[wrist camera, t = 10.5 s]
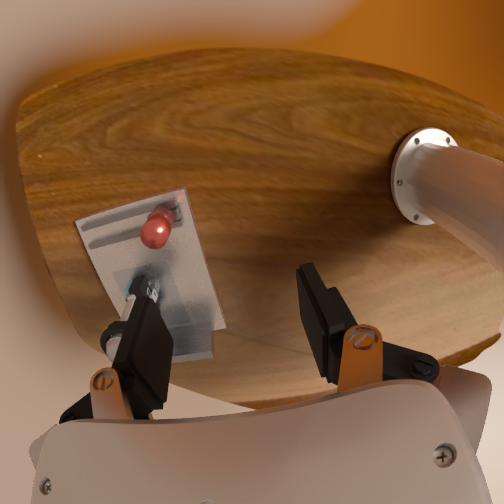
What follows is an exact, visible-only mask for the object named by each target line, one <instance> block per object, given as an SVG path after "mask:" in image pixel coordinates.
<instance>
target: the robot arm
mask: <svg viewBox="0 0 504 504" xmlns="http://www.w3.org/2000/svg"><path fill="white" fill-rule="evenodd" d="M391 191H392V196H393V199H394V202H395V204H396V206H397V208H398V210H399V211H400V212H401V214H402V215H403V216H405V217H406V218H407V219H408V220H410V221H411V222H413V223H415V224H419V225H430V224H434V223H436V224H438V225H439V226H441V227H442V228H444V229H445V230H447V231H448V232H449V233H451V234H452V235H454V236H455V237H456V238H458V239H459V240H460V241H462V242H463V243H464V244H466V245H467V246H468V247H470V248H471V249H472V250H474V251H475V252H476V253H478V254H479V255H480V256H481V257H483V258H484V259H485V260H486V261H487V262H489V263H490V264H491V265H492V266H494V267H495V268H496V269H497V270H499V271H500V272H501V273H502V274H503V275H504V162H502V161H499V160H496V159H494V158H491V157H488V156H485V155H483V154H480V153H477V152H474V151H470V150H467V149H464V148H461V147H458V146H457V144H456V142H455V141H454V140H453V138H452V137H451V136H450V135H449V134H447V133H446V132H445V131H442V130H440V129H437V128H432V127H424V128H420V129H417V130H415V131H414V132H412V133H411V134H409V135H408V136H407V137H406V138H405V139H404V141H403V142H402V143H401V145H400V146H399V148H398V150H397V152H396V154H395V157H394V161H393V164H392V170H391ZM296 278H297V287H298V296H299V306H300V315H301V320H302V323H303V326H304V329H305V332H306V335H307V337H308V340H309V343H310V346H311V349H312V352H313V355H314V358H315V361H316V364H317V366H318V369H319V372H320V375H321V377H326V379H327V382H328V383H331V382H332V383H333V384H335V385H338V387H337V393H334V394H330V395H326V396H322V397H318V398H314V399H310V400H305V401H301V402H297V403H292V404H288V405H283V406H278V407H272V408H267V409H261V410H255V411H249V412H242V413H235V414H227V415H219V416H209V417H198V418H185V419H184V418H183V419H159V420H154V419H153V417H152V414H151V412H152V411H153V410H154V409H155V410H158V409H163V403H165V402H166V401H167V392H168V385H169V377H170V370H171V362H172V355H173V348H174V341H173V338H172V336H171V334H170V332H169V330H168V328H167V326H166V324H165V322H164V320H163V318H162V316H161V314H160V312H159V310H158V308H157V306H156V304H155V302H154V300H153V298H149V297H148V296H143V297H138V298H136V299H135V301H134V304H133V307H132V309H131V312H130V315H129V317H128V320H127V323H126V325H125V328H124V331H123V334H122V337H121V340H120V343H119V346H118V349H117V352H116V355H115V358H114V361H113V364H112V367H111V368H103V369H101V370H99V371H97V372H96V373H95V374H94V375H93V377H92V378H91V381H90V392H89V393H88V394H87V395H86V396H84V397H83V398H82V399H80V400H79V401H78V402H76V403H75V404H74V405H72V406H71V407H70V408H69V409H67V410H66V411H65V412H64V413H63V414H62V416H61V417H60V420H59V425H57V424H55V425H54V426H53V427H52V428H50V429H49V430H48V431H47V432H45V433H44V434H43V435H41V436H40V437H39V438H38V439H36V440H35V441H34V442H33V443H32V444H31V446H30V450H29V453H30V457H31V460H32V462H33V465H34V467H35V469H36V473H35V478H34V484H33V490H32V498H31V504H492V500H491V497H490V493H489V490H488V487H487V484H486V480H485V477H484V474H483V472H482V469H481V466H480V464H479V461H478V459H477V456H476V452H477V449H478V446H479V442H480V439H481V435H482V432H483V428H484V424H485V420H486V416H487V411H488V406H489V401H490V396H491V391H492V385H491V382H490V380H489V378H487V376H485V375H483V374H480V373H476V372H473V371H469V370H465V369H462V368H458V367H454V366H451V365H447V364H445V366H440V365H439V363H438V362H437V360H436V359H435V358H434V357H432V356H431V355H428V354H425V353H422V352H418V351H415V350H411V349H408V348H404V347H401V346H397V345H394V344H391V343H387V342H384V341H382V335H381V333H380V331H379V330H378V329H377V328H375V327H373V326H371V325H366V324H360V325H358V324H357V322H356V321H355V319H354V317H353V315H352V313H351V312H350V310H349V308H348V306H347V305H346V303H345V301H344V300H343V298H342V296H341V294H340V293H339V291H338V289H337V288H336V287H332V288H328V289H327V288H326V287H325V285H324V283H323V281H322V279H321V277H320V276H319V274H318V272H317V270H316V268H315V267H314V265H313V263H312V262H311V263H307V264H302V265H300V268H299V269H296Z"/></svg>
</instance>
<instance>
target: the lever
mask: <svg viewBox="0 0 504 504" xmlns="http://www.w3.org/2000/svg"><path fill="white" fill-rule="evenodd" d="M179 219H180V212H179V209H178V207H174V208H170V209H169V208H167V207H158V208H156V209H155V210H154V211H153V212H152V213H151V214H149V215H148V217H147V221H146V222H145V224H144V225H143V227H142V229H141V231H140V239H141V241H142V243H143V244H144V245H145V246H146V247H148V248H150V249H160V248H162V247H163V246H165V244H166V243H167V240H168V238H169V235H170V233H171V230H172V228H173V226H174V223H175V221H176V220H179Z"/></svg>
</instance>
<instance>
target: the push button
mask: <svg viewBox="0 0 504 504" xmlns="http://www.w3.org/2000/svg"><path fill="white" fill-rule="evenodd" d="M148 283H149V281H148V279H147V277H146V275H144V276H141V277H138V278H134V279H131V280H129V282H128V285H127V287H126V289H125V295H126V297H127V298H126V300H125V301H126V302H127V303H126V305H125V308H124V310H123V313H122V315H121V318H120V320H119V321H114V322H113V323H111V324H110V325H109V326H108V328H107V329H106V330H105V331H104V332H103V334H102V336H101V339H100V344H101V347H102V349H103V351H104V352H105V353H106V355H107V356H108V358H109V360H110V361H111V362H113V361H114V358H115V355H116V352H117V349H118V346H119V343H120V340H121V337H122V334H123V331H124V328H125V325H126V323H127V320H128V317H129V315H130V312H131V309H132V307H133V304H134V301H135V299H136V298H138V297H143V296H148V297H149V298H153V300H154V302H155V304H156V306H157V308H158V310H159V312H160V314H161V310H160V307H159V304H158V302H157V297H158V294H157V292H156V290H155V288H153V290H152V292H151V290H150V288H149V286H148ZM154 292H155V294H156V296H155V294H154ZM111 335H112V337H111Z"/></svg>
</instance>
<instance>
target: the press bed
mask: <svg viewBox="0 0 504 504" xmlns="http://www.w3.org/2000/svg"><path fill="white" fill-rule="evenodd" d="M158 207H167V208H169V209H170V208H174V207H178V209H179V212H180V219H179V220H176V221H175V223H174V226H173V228H172V230H171V233H170V235H169V238H168V240H167V243H166V244H165V246H163V247H162V248H160V249H150V248H148V247H146V246H145V245H144V244H143V243H142V241H141V239H140V231H141V229H142V227H143V225H144V224H145V222H146V221H147V217H148V215H149V214H151V213H152V212H153V211H154V210H155V209H156V208H158ZM75 223H76V225H77V228H78V230H79V233H80V235H81V238H82V240H83V242H84V245H85V247H86V249H87V252H88V254H89V256H90V258H91V261H92V263H93V265H94V267H95V269H96V271H97V273H98V275H99V277H100V280H101V282H102V284H103V286H104V288H105V289H106V291H107V293H108V295H109V297H110V299H111V301H112V303H113V305H114V307H115V308H116V310H117V312H118V314H119V316H120V317H121V315H122V313H123V310H124V308H125V305H126V303H127V302H126V301H125V300H126V298H127V297H126V295H125V289H126V287H127V285H128V282H129V280H131V279H134V278H138V277H141V276H144V275H146V277H147V279H148V281H149V283H148V286H149V288H150V290H151V292H152V290H153V288H155V290H156V292H157V294H158V297H157V302H158V304H159V307H160V310H161V316H162V318H163V320H164V322H165V324H166V326H167V328H168V330H169V332H170V334H171V336H172V338H173V341H174V348H173V355H172V362H171V363H179V362H187V361H195V360H202V359H209V358H214V330H219V329H224V328H227V327H226V318H225V315H224V312H223V309H222V306H221V303H220V300H219V296H218V293H217V290H216V287H215V284H214V280H213V277H212V274H211V271H210V267H209V264H208V261H207V258H206V254H205V251H204V247H203V244H202V241H201V237H200V234H199V230H198V227H197V223H196V219H195V216H194V212H193V209H192V205H191V201H190V198H189V194H188V190H187V186H186V185H184V186H180V187H176V188H172V189H168V190H165V191H161V192H157V193H154V194H150V195H147V196H143V197H140V198H136V199H133V200H129V201H126V202H123V203H120V204H116V205H113V206H110V207H107V208H104V209H101V210H98V211H95V212H92V213H89V214H86V215H83V216H81V217H79V218H78V219H77V220H76V221H75ZM154 294H155V292H154ZM155 296H156V294H155Z"/></svg>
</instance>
